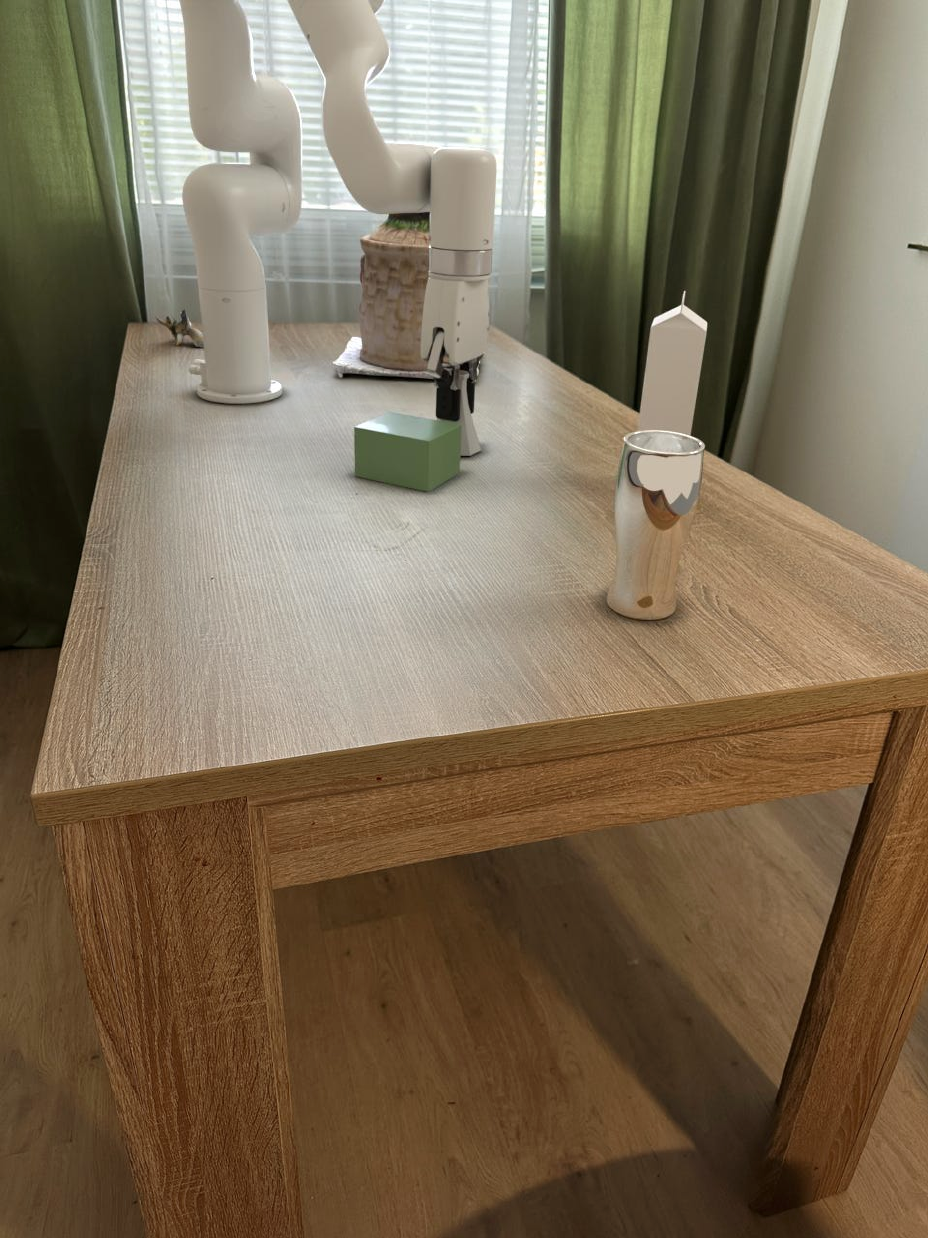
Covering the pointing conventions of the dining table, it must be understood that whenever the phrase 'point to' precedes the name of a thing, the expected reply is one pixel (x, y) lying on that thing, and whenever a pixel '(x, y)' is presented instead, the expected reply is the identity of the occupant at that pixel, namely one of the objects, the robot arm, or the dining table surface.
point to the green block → (407, 451)
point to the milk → (672, 371)
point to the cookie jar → (392, 300)
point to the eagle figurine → (183, 329)
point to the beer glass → (653, 519)
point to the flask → (465, 420)
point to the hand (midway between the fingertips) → (454, 414)
